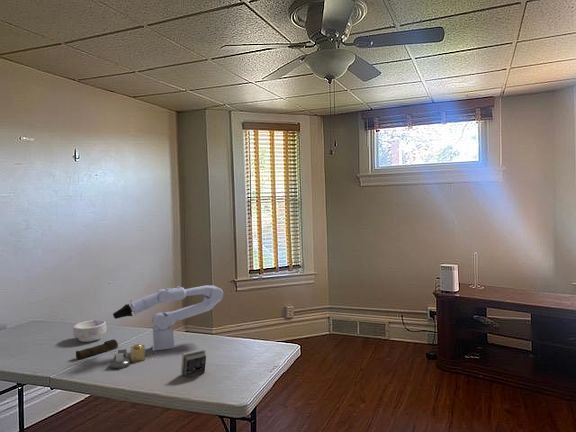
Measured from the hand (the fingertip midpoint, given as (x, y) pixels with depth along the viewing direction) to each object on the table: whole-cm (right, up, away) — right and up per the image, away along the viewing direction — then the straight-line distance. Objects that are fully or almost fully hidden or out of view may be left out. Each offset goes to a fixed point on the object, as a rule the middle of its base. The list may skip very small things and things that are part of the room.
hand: (113, 316), depth 193 cm
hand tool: (-9, -18, +5) cm, 21 cm away
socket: (+12, -18, -4) cm, 22 cm away
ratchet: (+6, -18, -6) cm, 20 cm away
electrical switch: (+41, -18, -22) cm, 50 cm away
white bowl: (-22, -18, +26) cm, 38 cm away
